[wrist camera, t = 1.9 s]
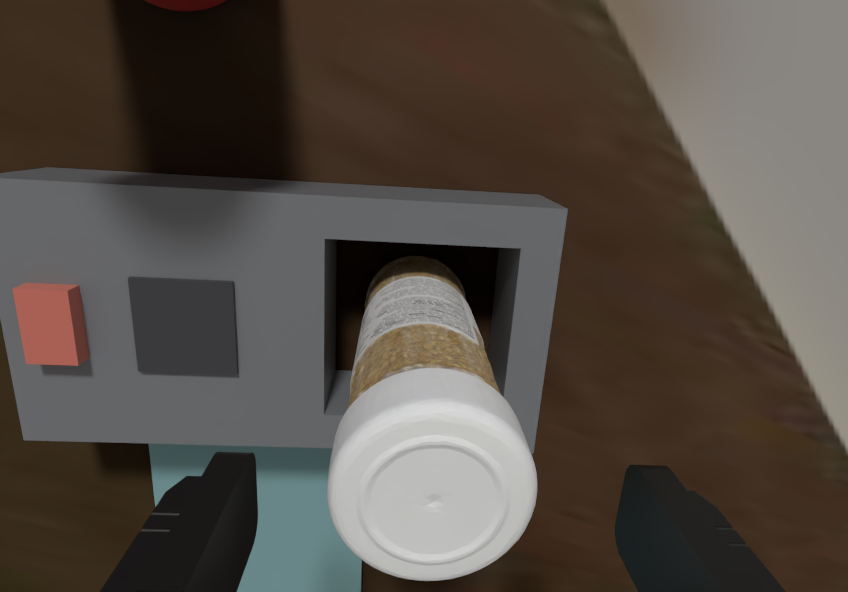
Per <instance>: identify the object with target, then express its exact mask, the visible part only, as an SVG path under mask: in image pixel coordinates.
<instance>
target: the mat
mask: <svg viewBox="0 0 848 592" xmlns="http://www.w3.org/2000/svg"><path fill="white" fill-rule="evenodd" d="M148 444H149V453H150V463H151V472H152V481H153V490H154V499H155V507H156V506H157V504H158V503H159V501H160V500H161V498H162V497H163V495H164V494H165V492H166V491H168V490H169V489H170V488H171V487H173V486H174V485H175V484H177V483H178V482H179V481H181V480H182V479H183V478H185V477H186V476H202V474H203V473H204V471H205V469H206V467H207V466H208V464H209V462H210V461H211V459H212V457H213V456H214V454H215V453H216V452H247V453H254V455H255V459H256V477H257V501H258V524H257V531H256V537H255V541H254V545H253V548H252V551H251V553H250V556H249V559H248V562H247V565H246V567H245V570H244V573H243V576H242V578H241V581H240V584H239V587H238V589H237V592H361V581H362V559H360V558H359V557H358V556H356V555H355V554H354V553H353V552H352V551H351V550H350V549H349V548H348V547H347V545H346V544H345V543H344V541H343V540H342V539H341V537H340V536H339V534H338V532H337V530H336V529H335V526H334V525H333V522H332V519H331V516H330V512H329V508H328V501H327V481H328V473H329V466H330V459H331V454H332V449H333V448H302V447H264V446H226V445H188V444H150V443H148Z"/></svg>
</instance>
